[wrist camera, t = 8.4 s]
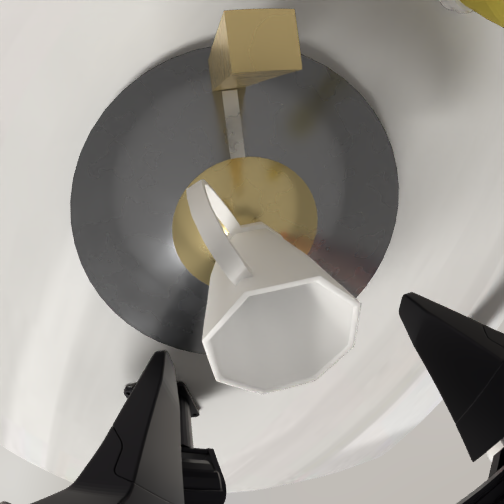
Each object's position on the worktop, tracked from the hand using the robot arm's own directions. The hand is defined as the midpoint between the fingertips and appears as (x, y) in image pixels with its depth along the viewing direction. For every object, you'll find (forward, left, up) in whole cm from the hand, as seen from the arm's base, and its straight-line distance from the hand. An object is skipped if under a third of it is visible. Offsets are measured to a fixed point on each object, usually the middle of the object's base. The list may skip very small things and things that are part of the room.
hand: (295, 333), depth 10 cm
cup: (0, +1, -9) cm, 9 cm away
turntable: (0, 0, -11) cm, 11 cm away
